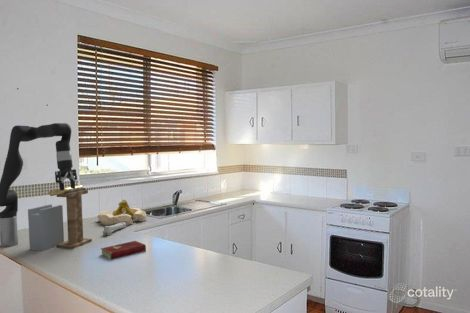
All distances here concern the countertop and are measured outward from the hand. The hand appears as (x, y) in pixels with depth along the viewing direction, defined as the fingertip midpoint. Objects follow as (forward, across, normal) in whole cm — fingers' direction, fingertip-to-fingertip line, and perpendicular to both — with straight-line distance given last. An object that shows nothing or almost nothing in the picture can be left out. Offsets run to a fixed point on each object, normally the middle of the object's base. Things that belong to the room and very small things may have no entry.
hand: (67, 189), depth 209 cm
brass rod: (+3, -14, -12) cm, 19 cm away
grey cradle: (+34, -12, -29) cm, 46 cm away
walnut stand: (+35, -19, -15) cm, 42 cm away
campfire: (+34, -81, -21) cm, 90 cm away
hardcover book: (+39, -11, +23) cm, 47 cm away
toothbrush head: (+35, -51, -8) cm, 63 cm away
